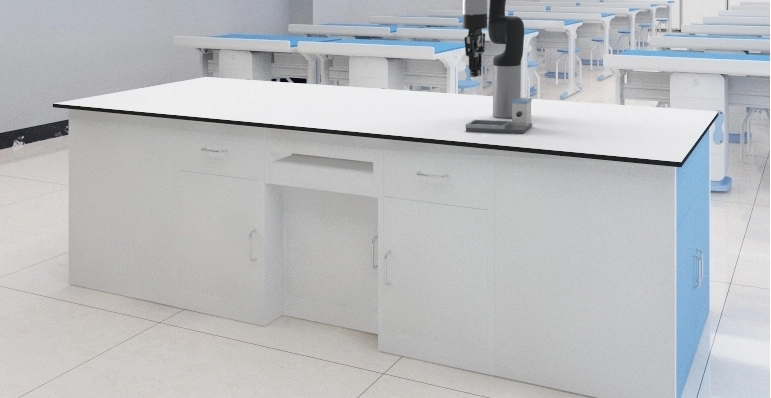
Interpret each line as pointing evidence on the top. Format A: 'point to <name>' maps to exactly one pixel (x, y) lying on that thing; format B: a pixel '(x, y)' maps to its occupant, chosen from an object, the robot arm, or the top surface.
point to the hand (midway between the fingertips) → (475, 68)
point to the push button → (477, 64)
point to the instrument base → (516, 126)
